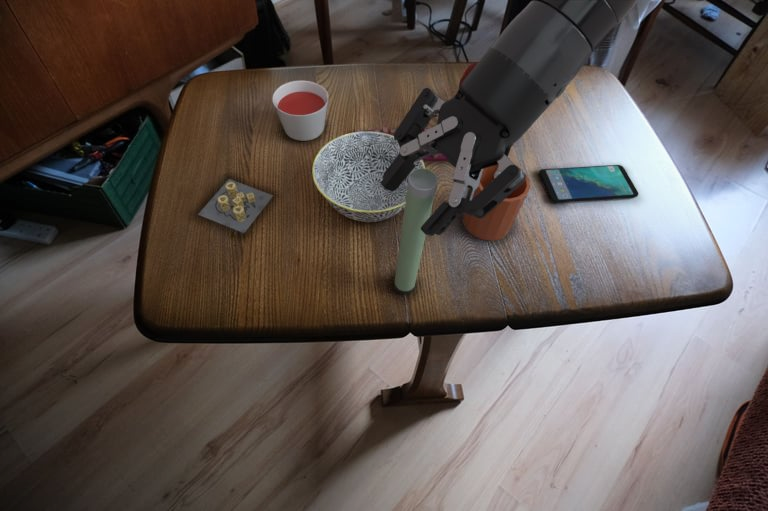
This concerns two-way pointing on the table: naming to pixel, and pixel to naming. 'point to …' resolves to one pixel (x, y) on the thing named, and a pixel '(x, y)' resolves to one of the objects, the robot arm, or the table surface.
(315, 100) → the candle
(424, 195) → the green long cylinder
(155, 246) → the table surface
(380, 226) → the table surface
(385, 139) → the bowl
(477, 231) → the pen cup
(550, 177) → the smartphone
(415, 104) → the robot arm
